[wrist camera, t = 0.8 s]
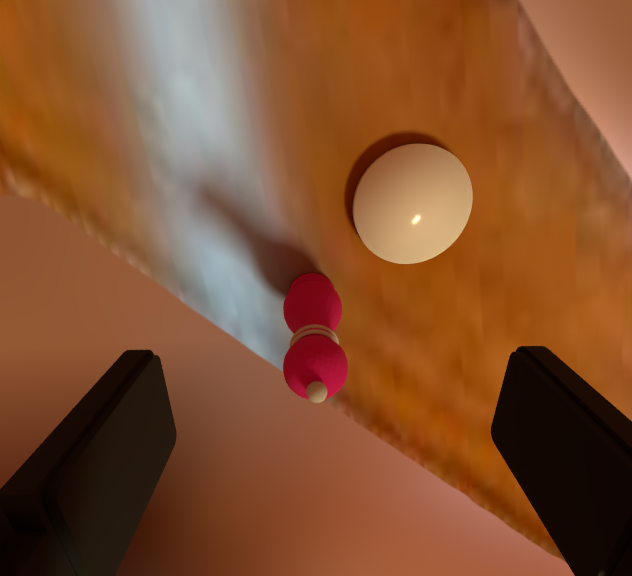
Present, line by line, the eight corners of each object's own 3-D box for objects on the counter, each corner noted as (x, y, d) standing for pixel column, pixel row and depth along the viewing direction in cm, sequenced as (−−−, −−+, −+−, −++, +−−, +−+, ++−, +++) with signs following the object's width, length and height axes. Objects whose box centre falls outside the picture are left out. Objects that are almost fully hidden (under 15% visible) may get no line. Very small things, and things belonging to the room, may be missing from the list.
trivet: (331, 229, 42) (332, 232, 41) (393, 118, 37) (397, 118, 36) (422, 277, 45) (426, 281, 44) (490, 181, 40) (497, 182, 39)
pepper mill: (279, 311, 47) (264, 423, 29) (291, 263, 44) (283, 355, 26) (330, 321, 48) (346, 437, 30) (345, 275, 45) (373, 372, 27)
